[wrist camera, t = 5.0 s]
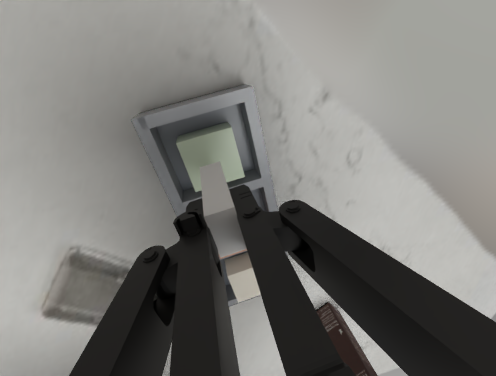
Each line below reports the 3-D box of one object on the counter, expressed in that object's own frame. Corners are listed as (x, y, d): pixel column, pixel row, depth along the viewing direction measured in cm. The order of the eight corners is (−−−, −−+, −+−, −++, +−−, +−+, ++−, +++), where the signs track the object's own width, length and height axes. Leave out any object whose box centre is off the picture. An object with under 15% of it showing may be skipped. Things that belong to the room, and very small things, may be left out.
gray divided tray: (219, 287, 33) (221, 309, 29) (140, 112, 20) (130, 119, 17) (283, 264, 33) (293, 283, 30) (244, 84, 21) (253, 85, 18)
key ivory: (234, 285, 29) (238, 302, 27) (224, 259, 27) (227, 276, 25) (269, 273, 29) (275, 289, 27) (262, 246, 27) (268, 261, 25)
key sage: (195, 180, 23) (195, 192, 21) (177, 136, 21) (176, 143, 19) (240, 167, 23) (244, 176, 21) (227, 121, 21) (231, 127, 19)
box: (326, 300, 40) (374, 381, 29) (338, 309, 42) (386, 388, 31) (300, 319, 41) (337, 405, 30) (313, 327, 43) (352, 410, 32)
